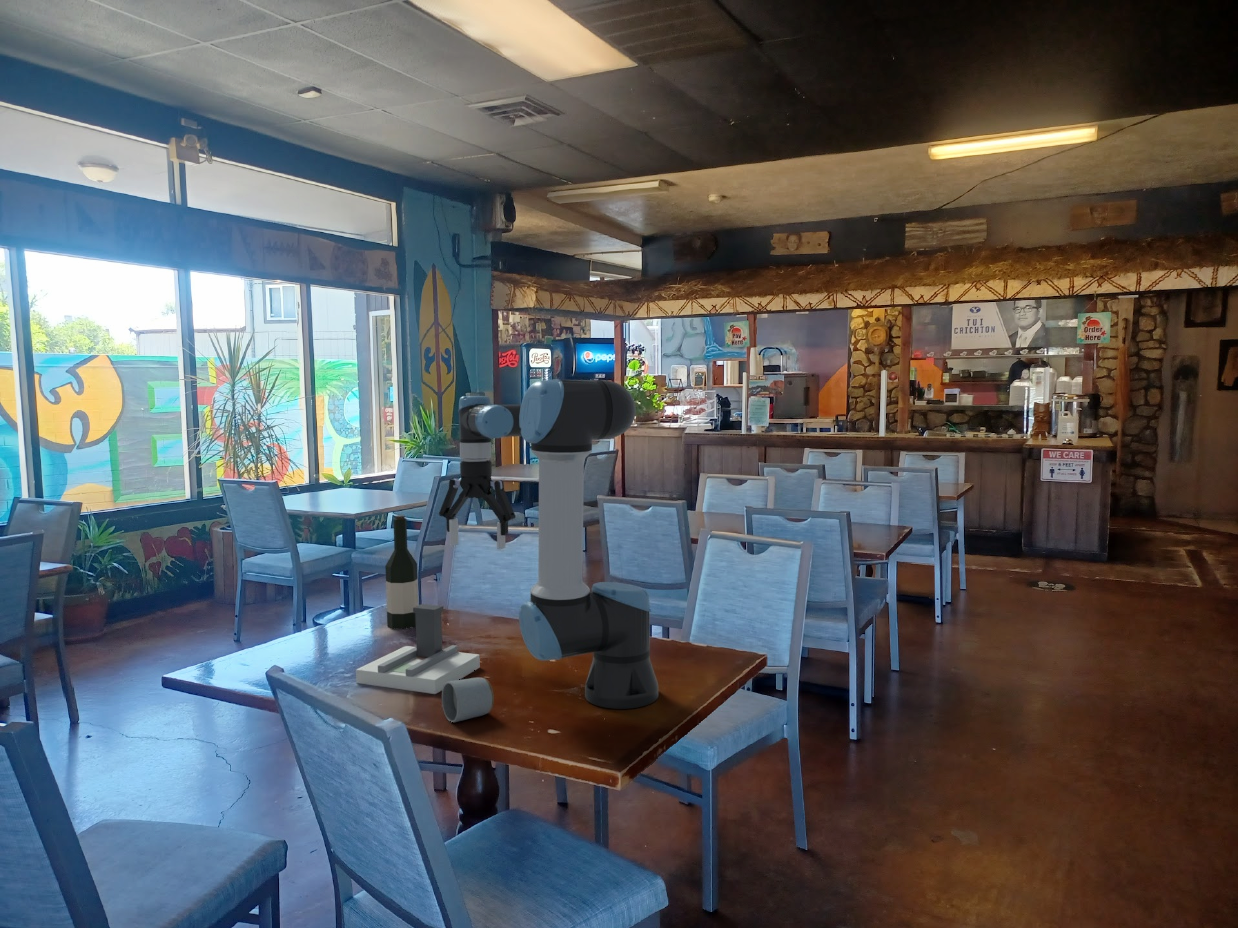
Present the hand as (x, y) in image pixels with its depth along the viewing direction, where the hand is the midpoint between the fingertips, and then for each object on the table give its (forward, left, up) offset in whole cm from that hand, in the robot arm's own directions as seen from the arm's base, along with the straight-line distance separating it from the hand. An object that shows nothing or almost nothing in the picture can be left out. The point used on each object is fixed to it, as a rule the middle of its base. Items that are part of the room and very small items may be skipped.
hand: (477, 546), depth 203 cm
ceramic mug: (-20, +39, -25) cm, 51 cm away
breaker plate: (+2, +23, -25) cm, 34 cm away
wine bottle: (+30, -10, -25) cm, 41 cm away
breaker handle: (+2, +19, -22) cm, 29 cm away
